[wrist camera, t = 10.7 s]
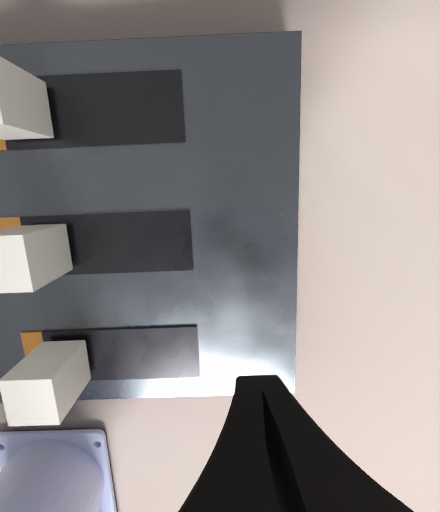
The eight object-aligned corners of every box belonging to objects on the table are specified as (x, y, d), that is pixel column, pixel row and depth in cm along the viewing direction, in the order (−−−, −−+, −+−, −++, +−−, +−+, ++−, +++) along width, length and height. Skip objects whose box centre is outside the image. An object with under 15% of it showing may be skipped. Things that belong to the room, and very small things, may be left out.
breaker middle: (73, 269, 16) (33, 292, 13) (27, 271, 16) (-25, 294, 13) (65, 223, 16) (22, 235, 12) (18, 225, 16) (-38, 237, 12)
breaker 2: (91, 378, 18) (59, 424, 14) (49, 379, 18) (8, 426, 14) (85, 340, 17) (51, 379, 14) (42, 341, 17) (-3, 380, 14)
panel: (284, 365, 21) (295, 395, 18) (12, 374, 21) (-22, 404, 18) (288, 56, 17) (302, 29, 14) (-55, 71, 17) (-113, 48, 14)
